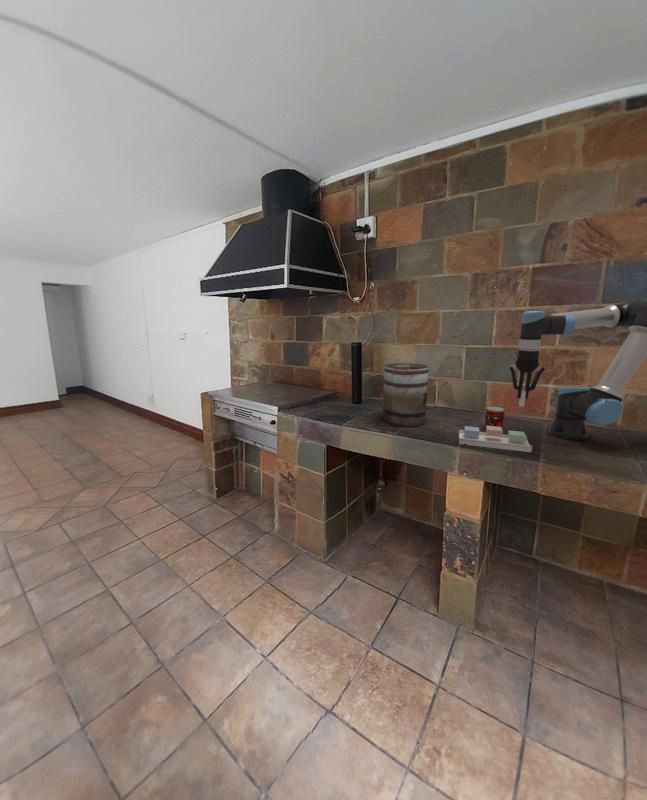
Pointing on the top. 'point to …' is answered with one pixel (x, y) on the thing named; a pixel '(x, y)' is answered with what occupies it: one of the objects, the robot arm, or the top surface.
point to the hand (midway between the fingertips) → (521, 405)
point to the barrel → (405, 394)
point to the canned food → (494, 417)
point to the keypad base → (494, 442)
